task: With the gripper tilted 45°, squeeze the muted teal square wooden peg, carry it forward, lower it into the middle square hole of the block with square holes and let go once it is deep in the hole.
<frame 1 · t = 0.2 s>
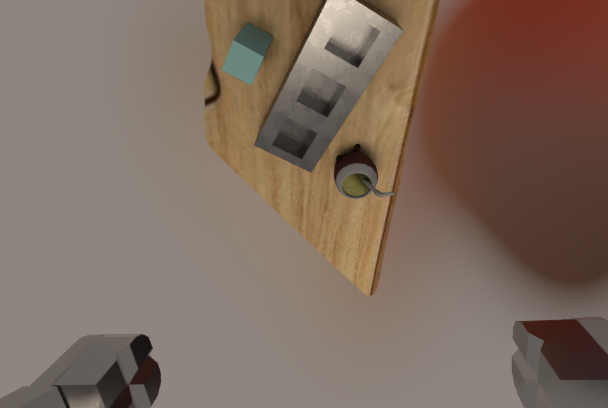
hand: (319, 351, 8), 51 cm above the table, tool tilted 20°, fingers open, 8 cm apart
mate gourd: (355, 157, 64), on the table
block with square holes: (321, 79, 56), on the table
square peg: (255, 42, 53), on the table
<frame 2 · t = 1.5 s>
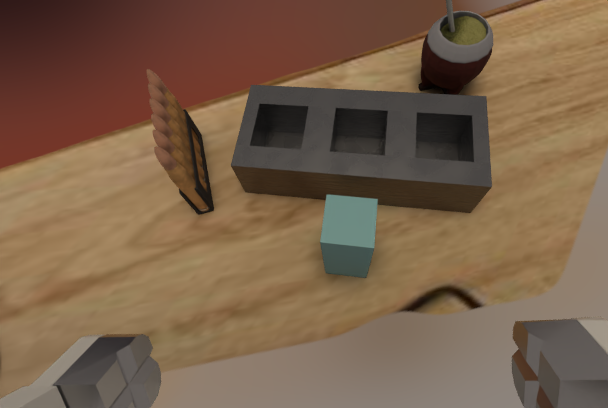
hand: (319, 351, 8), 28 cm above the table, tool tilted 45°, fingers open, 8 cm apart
ammunition clip: (200, 173, 43), on the table
mate gourd: (439, 83, 45), on the table
block with square holes: (357, 161, 41), on the table
square peg: (347, 256, 37), on the table
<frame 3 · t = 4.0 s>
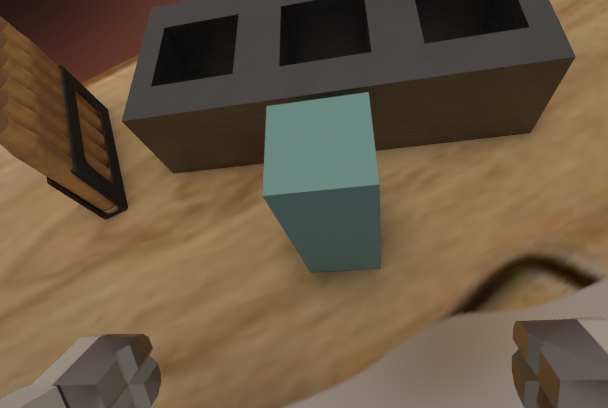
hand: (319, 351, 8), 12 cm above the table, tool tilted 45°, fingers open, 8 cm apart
ammunition clip: (107, 161, 29), on the table
block with square holes: (334, 97, 27), on the table
square peg: (343, 238, 22), on the table
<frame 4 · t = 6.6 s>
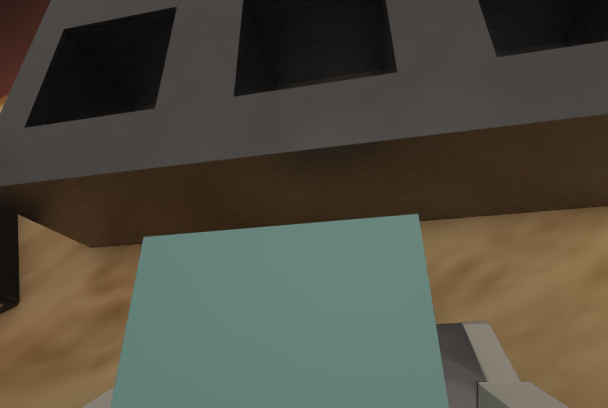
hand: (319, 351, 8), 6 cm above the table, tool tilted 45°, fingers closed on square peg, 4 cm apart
ammunition clip: (5, 222, 20), on the table
block with square holes: (332, 132, 18), on the table
square peg: (345, 383, 13), on the table, touching gripper
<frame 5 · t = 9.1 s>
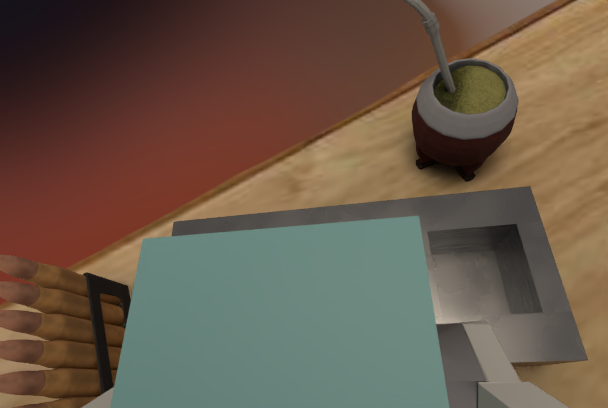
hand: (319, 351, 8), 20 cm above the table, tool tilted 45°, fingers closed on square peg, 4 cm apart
ammunition clip: (130, 349, 30), on the table
mate gourd: (443, 153, 32), on the table
block with square holes: (350, 298, 28), on the table
square peg: (345, 383, 13), point 14 cm above the table, touching gripper
when the fingers open (8 cm above the table, at t = 12.0 s): square peg drops 1 cm, resting on block with square holes.
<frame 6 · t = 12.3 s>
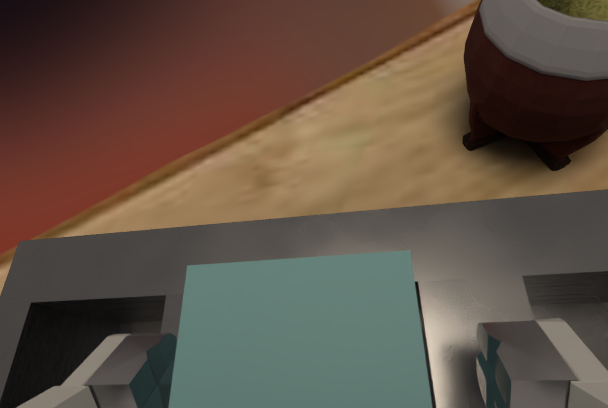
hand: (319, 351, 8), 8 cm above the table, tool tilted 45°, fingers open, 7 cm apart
mate gourd: (508, 125, 19), on the table
block with square holes: (350, 381, 15), on the table
square peg: (348, 383, 14), point 1 cm above the table, touching block with square holes
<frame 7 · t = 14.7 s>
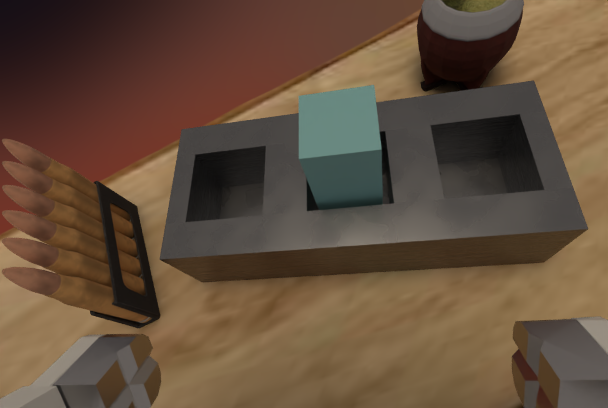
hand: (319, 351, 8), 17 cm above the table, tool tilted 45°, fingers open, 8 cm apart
ammunition clip: (139, 262, 30), on the table
mate gourd: (449, 76, 32), on the table
block with square holes: (354, 209, 28), on the table
square peg: (353, 204, 27), point 1 cm above the table, touching block with square holes
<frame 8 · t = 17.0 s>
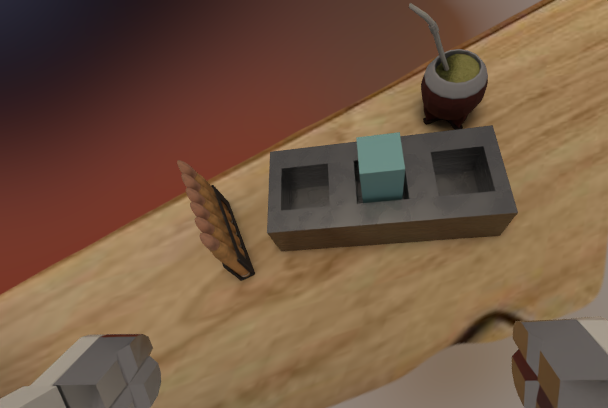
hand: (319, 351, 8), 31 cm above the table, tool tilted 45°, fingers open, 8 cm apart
ammunition clip: (235, 239, 45), on the table
mate gourd: (442, 114, 47), on the table
block with square holes: (380, 203, 43), on the table
square peg: (380, 200, 43), point 1 cm above the table, touching block with square holes
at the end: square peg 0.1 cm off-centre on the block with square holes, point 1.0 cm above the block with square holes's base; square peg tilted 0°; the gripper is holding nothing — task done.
